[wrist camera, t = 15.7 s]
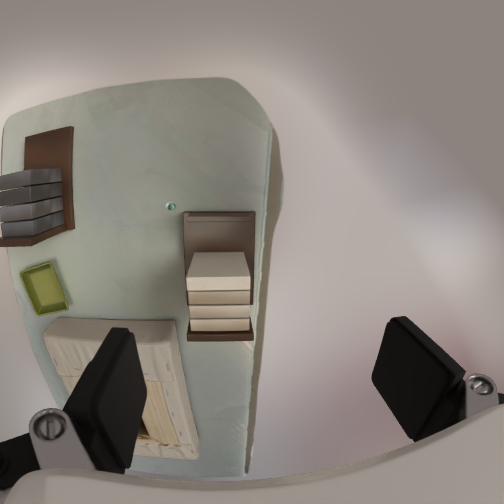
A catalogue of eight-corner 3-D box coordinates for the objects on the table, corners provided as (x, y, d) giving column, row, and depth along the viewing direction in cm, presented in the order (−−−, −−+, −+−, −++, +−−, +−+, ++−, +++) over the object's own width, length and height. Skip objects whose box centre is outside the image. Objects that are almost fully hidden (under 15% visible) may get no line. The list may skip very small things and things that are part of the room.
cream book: (194, 252, 39) (185, 277, 30) (243, 251, 40) (250, 276, 31) (194, 263, 40) (186, 290, 30) (243, 262, 41) (250, 289, 31)
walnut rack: (28, 137, 32) (-13, 133, 22) (73, 126, 33) (34, 117, 23) (30, 230, 36) (-9, 247, 26) (75, 228, 37) (36, 246, 27)
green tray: (41, 311, 40) (36, 316, 38) (24, 268, 38) (18, 272, 36) (74, 304, 41) (69, 310, 39) (56, 257, 38) (50, 261, 36)
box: (201, 436, 52) (176, 316, 43) (200, 463, 44) (168, 343, 35) (107, 428, 50) (58, 314, 41) (99, 452, 43) (37, 335, 34)
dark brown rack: (183, 211, 39) (170, 225, 28) (254, 211, 40) (266, 224, 29) (188, 302, 42) (179, 341, 32) (252, 301, 44) (261, 340, 33)
